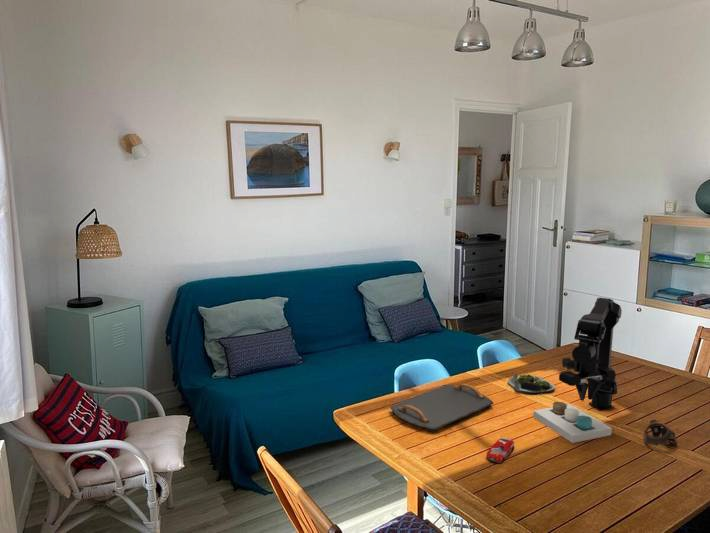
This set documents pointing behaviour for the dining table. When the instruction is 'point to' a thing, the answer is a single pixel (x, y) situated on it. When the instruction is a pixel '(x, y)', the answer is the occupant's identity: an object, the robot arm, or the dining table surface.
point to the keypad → (571, 425)
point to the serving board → (441, 406)
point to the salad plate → (531, 384)
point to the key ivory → (571, 415)
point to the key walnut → (559, 408)
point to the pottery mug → (656, 431)
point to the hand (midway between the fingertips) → (585, 399)
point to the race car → (500, 450)
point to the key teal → (584, 423)
